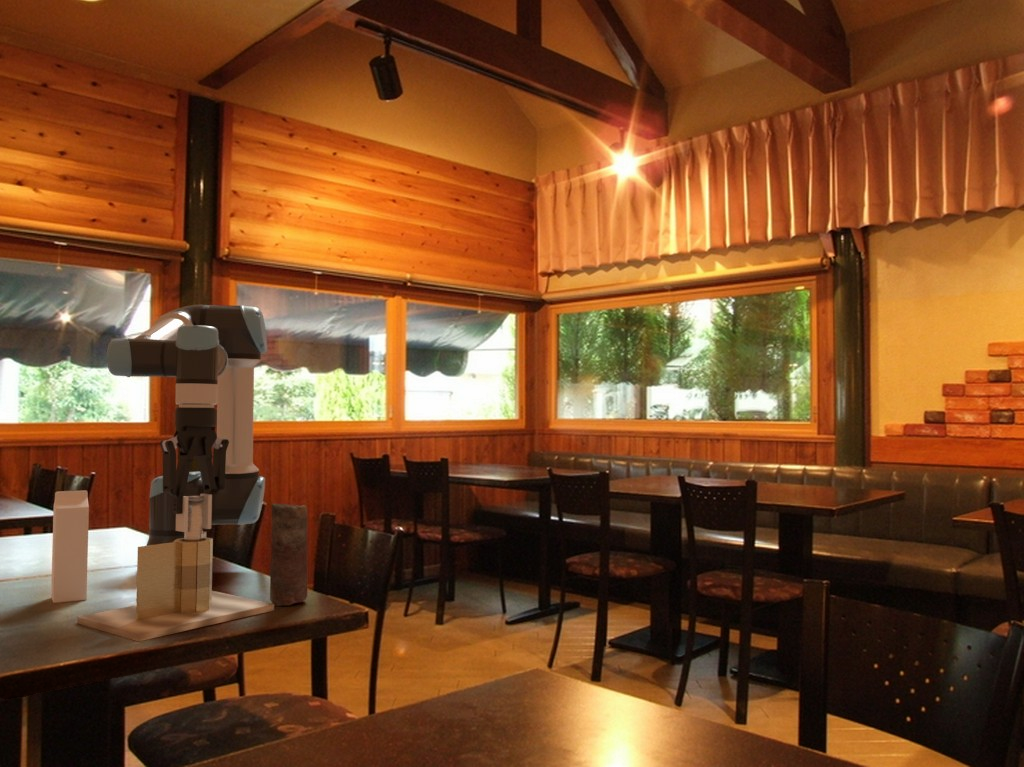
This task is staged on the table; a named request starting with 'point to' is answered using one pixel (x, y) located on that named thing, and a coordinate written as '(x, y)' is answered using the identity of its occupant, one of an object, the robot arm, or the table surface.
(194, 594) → the hinge
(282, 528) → the candle
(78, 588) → the milk
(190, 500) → the hinge pin
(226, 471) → the robot arm
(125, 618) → the board
